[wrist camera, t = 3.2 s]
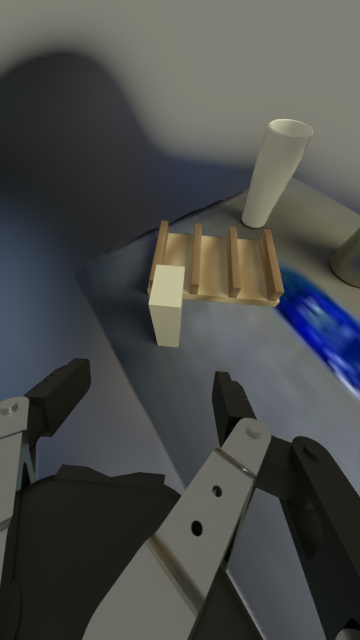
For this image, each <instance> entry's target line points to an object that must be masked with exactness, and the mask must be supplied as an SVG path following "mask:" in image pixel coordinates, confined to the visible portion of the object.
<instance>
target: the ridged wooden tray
mask: <svg viewBox="0 0 360 640" xmlns="http://www.w3.org/2000/svg"><path fill="white" fill-rule="evenodd" d="M156 264H157V265H169V266H180V267H185V273H184V287H183V299H192V300H203V301H214V302H226V303H237V304H249V305H260V306H271V307H275V306H276V305H277V304H278V303H279V302H280V301H279V297H280V296H281V295H282V294H283V293H284V289H283V284H282V280H281V275H280V270H279V266H278V261H277V257H276V252H275V248H274V243H273V238H272V234H271V229H264V230H263V232H262V234H261V236H260V238H259V240H247V239H237V230H236V226H229V230H228V233H227V237H226V238H222V237H210V236H202V224H199V223H196V224H195V233H194V235H186V234H174V233H169V228H168V221H162V222H161V226H160V231H159V236H158V241H157V245H156V250H155V255H154V260H153V264H152V269H151V274H150V279H149V284H148V289H147V291H148V296H150V295H151V290H152V285H153V279H154V274H155V269H156Z"/></svg>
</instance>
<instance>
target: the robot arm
mask: <svg viewBox="0 0 360 640" xmlns="http://www.w3.org/2000/svg"><path fill="white" fill-rule="evenodd" d="M330 265H331V268H332V270H333V271H334V273H335V274H336V275H337V276H338V277H339V278H340V279H342V280H343V281H345V282H347V283H349V284H350V285H353V286H356V287H359V288H360V228H359V229H358V230H357V231H356V232H355V233H354V234H353V235H352V236H351V237H350V238H349V239H348V240H347V241H346V242H345V243H344V244H343V245H342V246H341V247H340V248H339V249H338V251H337V252H336V253H335V254H334V255H333V256H332V257H331V259H330ZM90 383H91V376H90V364H89V360H88V359H79V358H75V359H73V360H72V361H71V362H69V363H68V364H67V365H64V366H62V367H60V368H58V369H56V370H55V371H53V372H52V373H51V374H50V375H49V376H47V377H46V378H45V379H44V380H43V381H41V382H40V383H39V384H37V385H36V386H35V387H33V388H32V389H31V390H30V391H28V392H27V393H26V394H25V395H24V396H20V397H19V396H18V397H12V398H9V399H6V400H3V401H1V402H0V640H263V638H262V636H261V634H260V633H259V631H258V629H257V627H256V625H255V623H254V622H253V620H252V618H251V616H250V614H249V613H248V611H247V609H246V607H245V605H244V604H243V602H242V600H241V598H240V596H239V594H238V593H237V591H236V589H235V587H234V585H233V584H232V582H231V580H230V578H229V576H228V574H227V573H226V570H227V567H228V564H229V562H230V559H231V556H232V554H233V551H234V548H235V545H236V542H237V539H238V536H239V533H240V530H241V528H242V525H243V522H244V519H245V517H246V514H247V511H248V509H249V506H250V503H251V501H252V498H253V495H254V493H255V490H256V487H257V488H259V489H261V490H263V491H265V492H268V493H270V494H272V495H274V496H276V497H278V498H279V500H280V503H281V506H282V509H283V512H284V515H285V518H286V521H287V524H288V527H289V530H290V533H291V536H292V539H293V542H294V545H295V548H296V550H297V553H298V556H299V559H300V562H301V565H302V568H303V571H304V574H305V577H306V580H307V583H308V586H309V589H310V592H311V595H312V598H313V601H314V604H315V607H316V610H317V613H318V616H319V619H320V622H321V625H322V627H323V630H324V633H325V636H326V639H327V640H360V497H359V495H358V494H357V492H356V491H355V489H354V488H353V487H352V485H351V484H350V482H349V481H348V479H347V478H346V476H345V475H344V473H343V472H342V470H341V469H340V468H339V466H338V465H337V463H336V462H335V460H334V459H333V457H332V456H331V454H330V453H329V452H328V451H327V450H326V449H325V448H324V447H323V446H322V445H321V444H319V443H318V442H316V441H314V440H312V439H310V438H307V437H303V436H298V437H295V438H294V439H293V441H292V443H290V442H287V441H285V440H282V439H279V438H276V437H274V436H272V435H271V434H270V432H269V430H268V429H267V427H266V426H265V425H264V424H262V423H261V422H259V421H257V419H256V416H255V414H254V412H253V410H252V407H251V405H250V403H249V401H248V398H247V396H246V395H245V391H244V389H243V387H242V386H241V385H240V384H239V383H238V382H237V381H231V378H230V375H229V373H228V372H219V371H216V373H215V378H214V384H213V391H212V404H213V410H214V416H215V421H216V427H217V433H218V439H219V444H220V450H219V449H218V448H216V449H215V450H214V451H213V452H212V453H211V455H210V456H209V458H208V459H207V461H206V462H205V463H204V465H203V466H202V468H201V469H200V471H199V472H198V473H197V475H196V476H195V478H194V479H193V481H192V482H191V483H190V485H189V486H188V488H187V489H186V491H185V492H184V493H183V495H182V496H181V495H180V494H179V493H177V492H176V491H175V490H173V489H172V488H170V487H168V486H166V485H164V479H165V475H162V474H153V473H143V472H138V473H132V474H127V475H121V476H116V477H109V476H106V475H104V474H102V473H99V472H97V471H95V470H93V469H91V468H89V467H83V466H72V465H62V466H61V467H60V469H59V470H58V472H57V474H56V475H52V476H49V477H45V478H43V479H40V480H38V481H37V463H38V443H37V441H38V439H39V438H40V437H41V436H43V437H52V436H53V435H54V433H55V432H56V431H57V429H58V428H59V427H60V425H61V424H62V423H63V422H64V421H65V419H66V418H67V416H68V415H69V414H70V413H71V412H72V410H73V409H74V408H75V406H76V405H77V404H78V403H79V401H80V400H81V399H82V397H83V396H84V395H85V394H86V392H87V391H88V389H89V387H90Z"/></svg>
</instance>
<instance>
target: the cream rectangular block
mask: <svg viewBox="0 0 360 640" xmlns="http://www.w3.org/2000/svg"><path fill="white" fill-rule="evenodd" d="M184 273H185V267H180V266H169V265H157V264H156V269H155V274H154V279H153V285H152V290H151V295H150V300H149V309H150V313H151V317H152V322H153V326H154V331H155V335H156V339H157V344H158V346H168V347H179V337H180V327H181V316H182V302H183V287H184Z"/></svg>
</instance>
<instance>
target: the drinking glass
mask: <svg viewBox="0 0 360 640" xmlns="http://www.w3.org/2000/svg"><path fill="white" fill-rule="evenodd" d="M312 135H313V129H312V128H311V127H310V126H309V125H307V124H305V123H302V122H299V121H295V120H289V119H278V120H273V121H271V122H270V123H269V124H268V127H267V130H266V132H265V135H264V138H263V141H262V144H261V147H260V150H259V153H258V157H257V160H256V164H255V168H254V172H253V176H252V180H251V185H250V188H249V192H248V196H247V200H246V204H245V208H244V211H243V214H242V222H243V223H244V224H245V225H246V226H248V227H251V228H260V227H262V226H264V225H265V224H266V222H267V220H268V218H269V216H270V214H271V212H272V210H273V208H274V207H275V205H276V203H277V201H278V200H279V198H280V196H281V194H282V193H283V191H284V189H285V187H286V186H287V184H288V182H289V180H290V179H291V177H292V175H293V173H294V171H295V170H296V168H297V166H298V164H299V162H300V160H301V158H302V156H303V154H304V152H305V150H306V148H307V146H308V143H309V141H310V139H311V137H312Z"/></svg>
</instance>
